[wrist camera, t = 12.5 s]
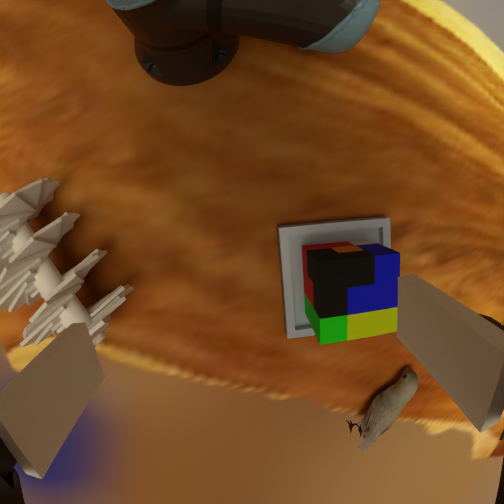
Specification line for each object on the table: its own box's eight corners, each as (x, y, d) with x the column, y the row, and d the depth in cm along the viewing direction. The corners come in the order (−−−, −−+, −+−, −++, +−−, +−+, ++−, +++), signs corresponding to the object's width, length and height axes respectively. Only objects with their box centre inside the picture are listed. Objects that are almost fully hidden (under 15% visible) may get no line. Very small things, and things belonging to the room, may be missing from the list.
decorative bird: (416, 370, 50) (434, 391, 42) (360, 430, 52) (371, 455, 45) (399, 359, 49) (418, 380, 42) (341, 422, 51) (351, 448, 44)
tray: (276, 226, 44) (278, 228, 42) (383, 216, 44) (389, 217, 42) (285, 331, 47) (287, 338, 45) (383, 316, 47) (389, 322, 45)
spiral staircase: (60, 182, 46) (145, 301, 48) (-12, 246, 40) (68, 367, 42) (30, 133, 28) (147, 305, 31) (-68, 225, 22) (36, 401, 25)
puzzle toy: (368, 239, 44) (399, 252, 34) (368, 304, 46) (396, 331, 36) (301, 245, 44) (317, 261, 34) (305, 313, 45) (320, 344, 36)
